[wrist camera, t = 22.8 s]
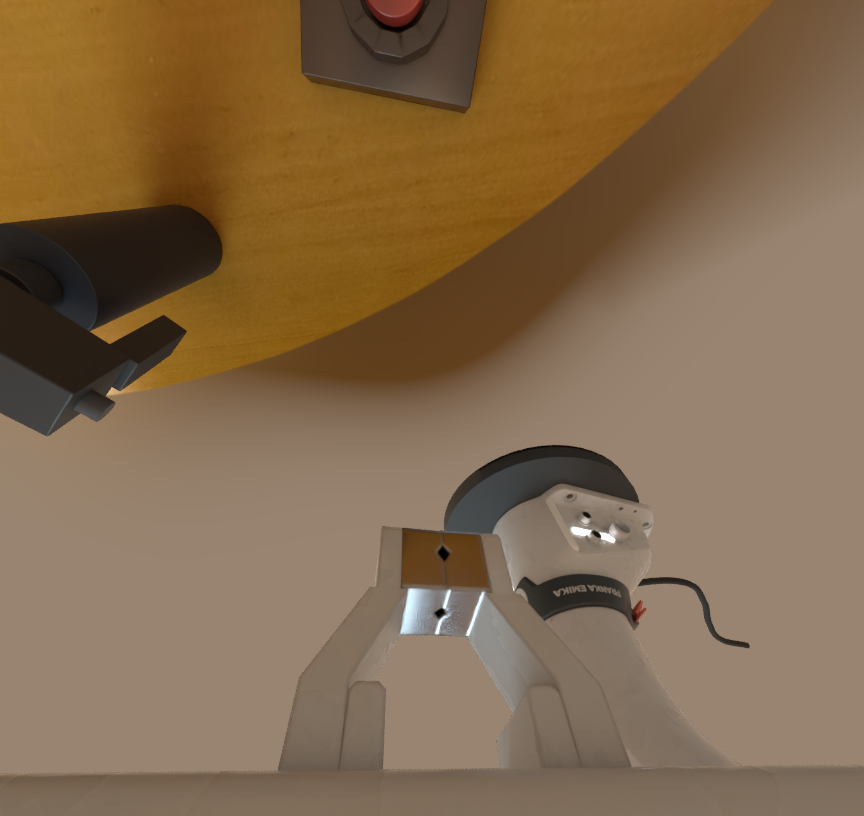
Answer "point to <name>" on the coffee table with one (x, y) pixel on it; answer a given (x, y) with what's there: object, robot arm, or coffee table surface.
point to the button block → (395, 50)
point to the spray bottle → (85, 301)
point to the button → (395, 11)
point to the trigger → (147, 348)
